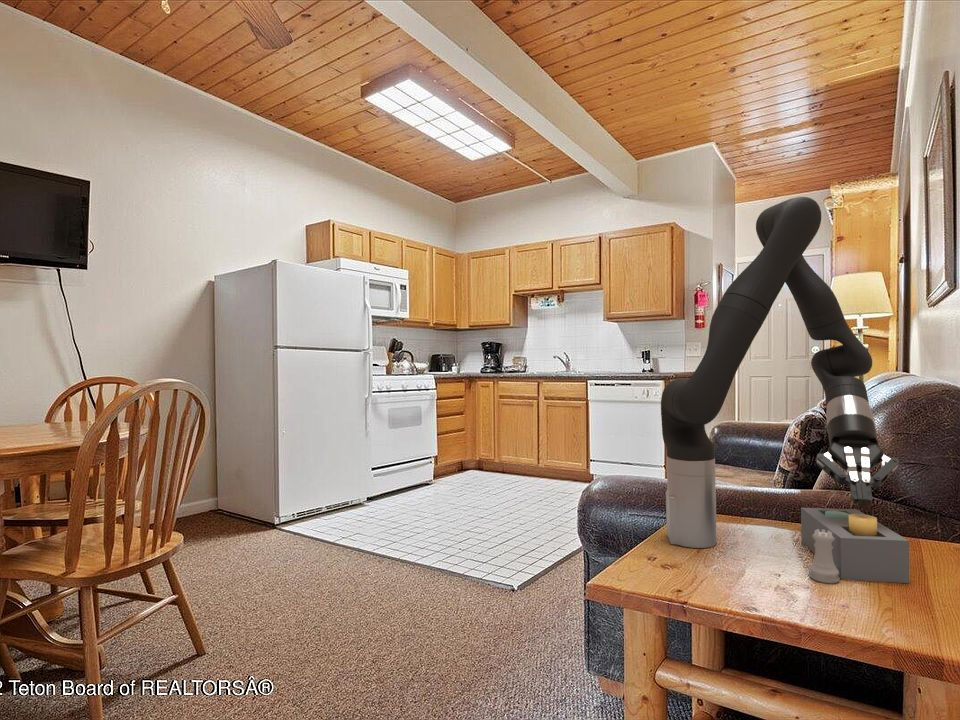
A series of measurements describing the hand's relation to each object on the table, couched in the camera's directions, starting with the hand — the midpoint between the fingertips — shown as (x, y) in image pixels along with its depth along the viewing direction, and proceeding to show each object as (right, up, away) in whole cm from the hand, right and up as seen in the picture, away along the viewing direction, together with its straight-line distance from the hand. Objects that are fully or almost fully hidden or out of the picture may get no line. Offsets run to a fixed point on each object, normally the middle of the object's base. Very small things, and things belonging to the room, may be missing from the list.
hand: (863, 504), depth 93 cm
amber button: (0, -6, 0) cm, 6 cm away
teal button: (+2, -8, +10) cm, 13 cm away
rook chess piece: (-8, -12, -2) cm, 15 cm away
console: (+1, -12, +5) cm, 13 cm away
